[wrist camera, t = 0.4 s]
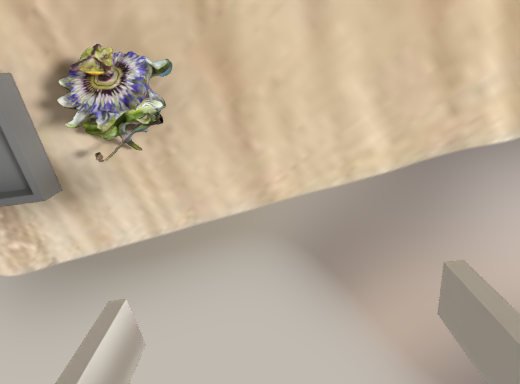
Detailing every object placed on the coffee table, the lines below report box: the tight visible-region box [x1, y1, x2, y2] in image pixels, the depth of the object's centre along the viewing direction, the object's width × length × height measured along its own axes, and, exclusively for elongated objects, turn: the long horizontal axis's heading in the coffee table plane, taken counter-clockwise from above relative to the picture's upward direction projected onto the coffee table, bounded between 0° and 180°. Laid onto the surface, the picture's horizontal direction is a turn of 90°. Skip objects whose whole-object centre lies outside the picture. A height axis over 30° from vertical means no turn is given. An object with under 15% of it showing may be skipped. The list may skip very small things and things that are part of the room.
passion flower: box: [57, 44, 172, 162], centre depth 32 cm, size 11×11×12 cm
